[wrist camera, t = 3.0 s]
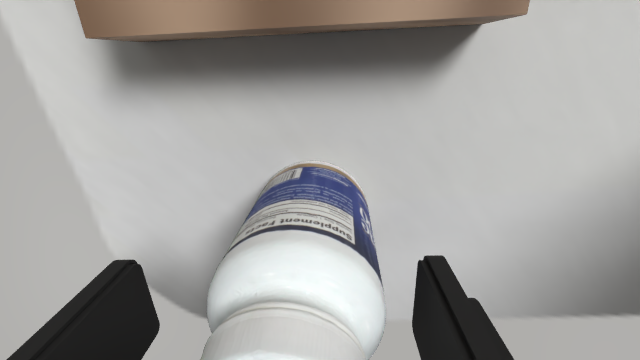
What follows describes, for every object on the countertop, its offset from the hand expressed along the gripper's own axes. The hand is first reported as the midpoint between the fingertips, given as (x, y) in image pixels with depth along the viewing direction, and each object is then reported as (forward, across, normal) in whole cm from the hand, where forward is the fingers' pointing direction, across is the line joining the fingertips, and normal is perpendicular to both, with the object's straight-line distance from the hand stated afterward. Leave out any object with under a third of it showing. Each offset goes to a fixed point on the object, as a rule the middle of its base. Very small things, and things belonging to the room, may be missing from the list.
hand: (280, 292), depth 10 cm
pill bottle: (+6, -1, 0) cm, 6 cm away
